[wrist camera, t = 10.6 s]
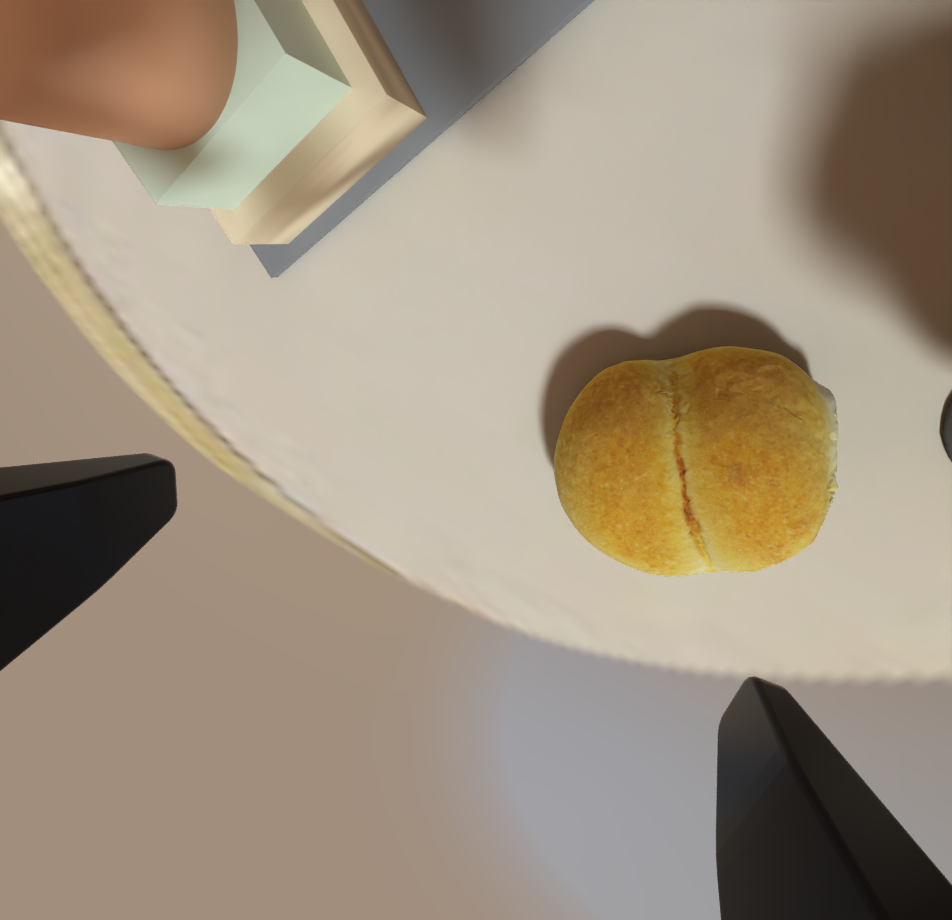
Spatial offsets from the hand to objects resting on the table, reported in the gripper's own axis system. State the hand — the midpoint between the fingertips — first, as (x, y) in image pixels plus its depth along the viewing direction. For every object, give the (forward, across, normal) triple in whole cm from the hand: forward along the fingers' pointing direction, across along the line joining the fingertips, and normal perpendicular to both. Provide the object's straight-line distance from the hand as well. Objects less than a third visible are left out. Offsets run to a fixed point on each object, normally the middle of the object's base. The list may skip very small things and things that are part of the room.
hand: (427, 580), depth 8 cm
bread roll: (+13, -5, +2) cm, 15 cm away
